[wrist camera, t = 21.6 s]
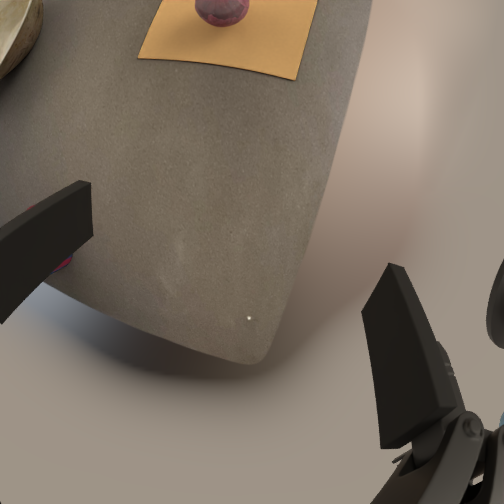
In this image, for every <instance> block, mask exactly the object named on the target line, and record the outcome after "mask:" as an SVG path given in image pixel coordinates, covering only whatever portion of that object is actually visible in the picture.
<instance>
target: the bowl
mask: <svg viewBox="0 0 504 504" xmlns="http://www.w3.org/2000/svg"><path fill="white" fill-rule="evenodd" d="M42 22H43V3H42V0H0V79H1V78H3V77H4V76H5V75H6V74H7V73H9V72H10V71H11V70H12V69H13V68H15V67H16V66H17V65H18V64H19V63H20V62H21V61H22V60H23V59H24V58H25V56H26V55H27V54H28V53H29V52H30V50H31V49H32V47H33V45H34V43H35V41H36V39H37V37H38V35H39V33H40V30H41V27H42Z"/></svg>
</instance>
